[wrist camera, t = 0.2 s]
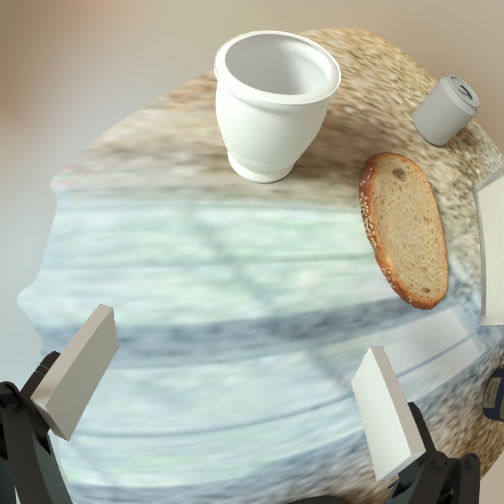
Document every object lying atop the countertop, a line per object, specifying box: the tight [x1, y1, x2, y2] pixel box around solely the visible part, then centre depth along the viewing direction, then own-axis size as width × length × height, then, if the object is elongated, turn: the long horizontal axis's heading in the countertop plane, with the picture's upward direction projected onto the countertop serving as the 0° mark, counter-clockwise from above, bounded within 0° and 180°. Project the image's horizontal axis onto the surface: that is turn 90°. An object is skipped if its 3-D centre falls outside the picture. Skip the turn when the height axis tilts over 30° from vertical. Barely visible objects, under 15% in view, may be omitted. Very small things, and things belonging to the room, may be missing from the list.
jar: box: [214, 31, 341, 183], centre depth 25 cm, size 11×10×15 cm
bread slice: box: [359, 153, 448, 310], centre depth 30 cm, size 18×18×4 cm
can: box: [413, 75, 480, 146], centre depth 30 cm, size 8×8×12 cm
